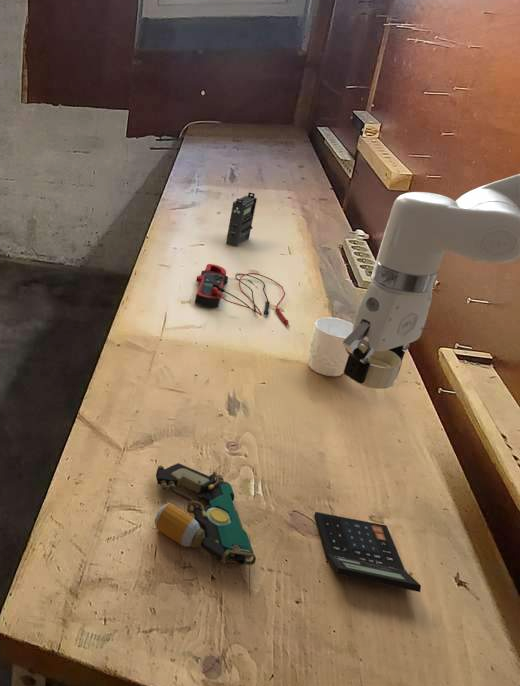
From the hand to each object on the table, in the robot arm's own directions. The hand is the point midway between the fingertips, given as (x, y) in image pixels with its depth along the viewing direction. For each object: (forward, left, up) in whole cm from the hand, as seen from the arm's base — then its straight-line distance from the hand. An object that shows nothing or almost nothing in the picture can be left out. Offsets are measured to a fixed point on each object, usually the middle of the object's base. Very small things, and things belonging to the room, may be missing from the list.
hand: (370, 372), depth 92 cm
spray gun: (+34, +2, -16) cm, 37 cm away
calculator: (+18, +16, -16) cm, 29 cm away
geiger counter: (-49, -77, -16) cm, 92 cm away
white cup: (-16, -18, -16) cm, 29 cm away
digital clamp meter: (-23, -49, -16) cm, 56 cm away
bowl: (0, 0, -1) cm, 1 cm away
